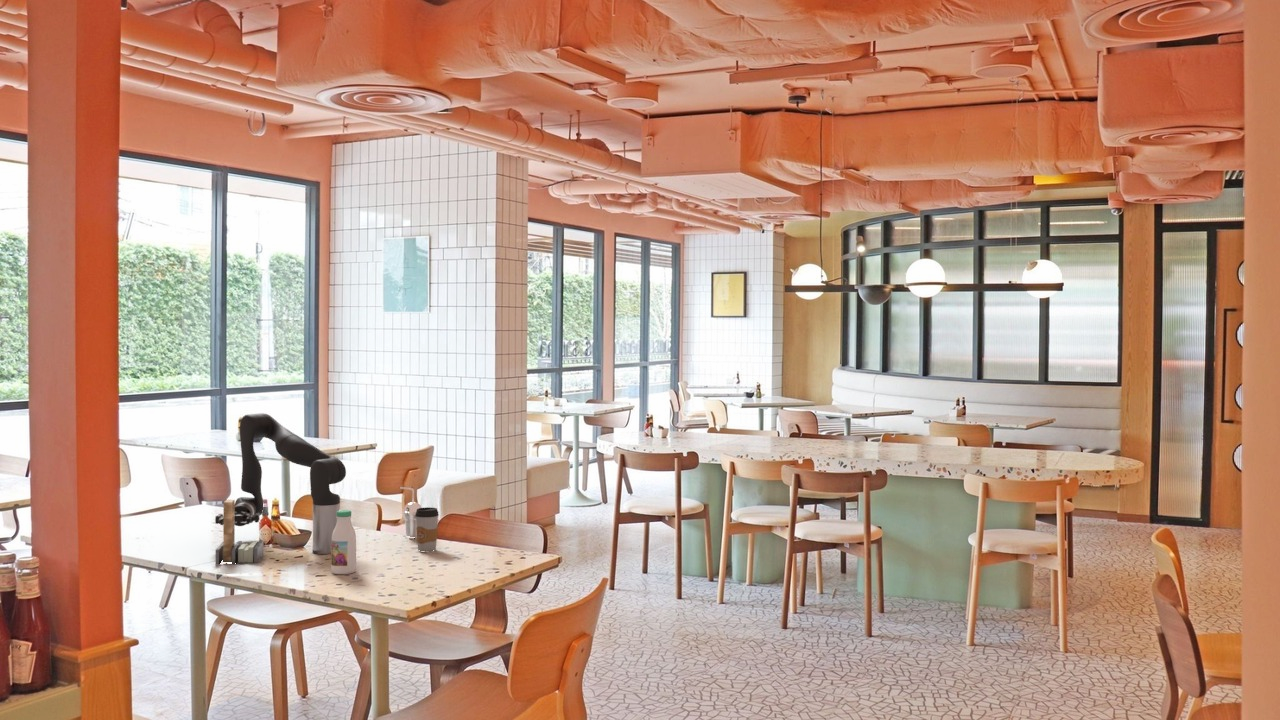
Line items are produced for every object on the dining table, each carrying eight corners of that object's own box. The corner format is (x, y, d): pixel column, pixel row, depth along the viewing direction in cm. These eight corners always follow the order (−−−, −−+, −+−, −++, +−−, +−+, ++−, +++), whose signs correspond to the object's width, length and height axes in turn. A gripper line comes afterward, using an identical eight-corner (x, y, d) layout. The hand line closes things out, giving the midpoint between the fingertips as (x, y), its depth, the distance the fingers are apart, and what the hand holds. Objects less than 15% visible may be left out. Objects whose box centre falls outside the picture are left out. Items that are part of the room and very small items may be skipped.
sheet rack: (263, 557, 337) (263, 540, 337) (257, 566, 323) (257, 548, 323) (223, 558, 334) (223, 541, 334) (215, 567, 320) (215, 549, 320)
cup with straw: (421, 540, 369) (421, 487, 368) (397, 539, 369) (397, 487, 368) (426, 535, 377) (426, 484, 377) (403, 535, 377) (403, 484, 377)
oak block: (234, 557, 331) (234, 499, 330) (231, 561, 325) (231, 502, 325) (226, 558, 330) (226, 499, 330) (223, 562, 324) (223, 502, 324)
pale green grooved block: (257, 555, 334) (257, 541, 334) (253, 562, 325) (253, 547, 325) (242, 556, 333) (242, 541, 333) (237, 562, 323) (237, 547, 323)
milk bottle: (347, 568, 321) (347, 508, 320) (360, 572, 316) (361, 510, 315) (326, 572, 315) (326, 511, 314) (340, 576, 310) (340, 513, 310)
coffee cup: (410, 551, 348) (410, 509, 348) (425, 547, 355) (425, 506, 355) (428, 553, 344) (428, 511, 344) (443, 549, 351) (443, 508, 351)
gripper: (221, 504, 352) (212, 511, 336) (262, 503, 355) (256, 510, 340) (221, 524, 352) (212, 533, 336) (262, 523, 356) (256, 531, 340)
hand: (234, 521), depth 338 cm, fingers open, 8 cm apart
